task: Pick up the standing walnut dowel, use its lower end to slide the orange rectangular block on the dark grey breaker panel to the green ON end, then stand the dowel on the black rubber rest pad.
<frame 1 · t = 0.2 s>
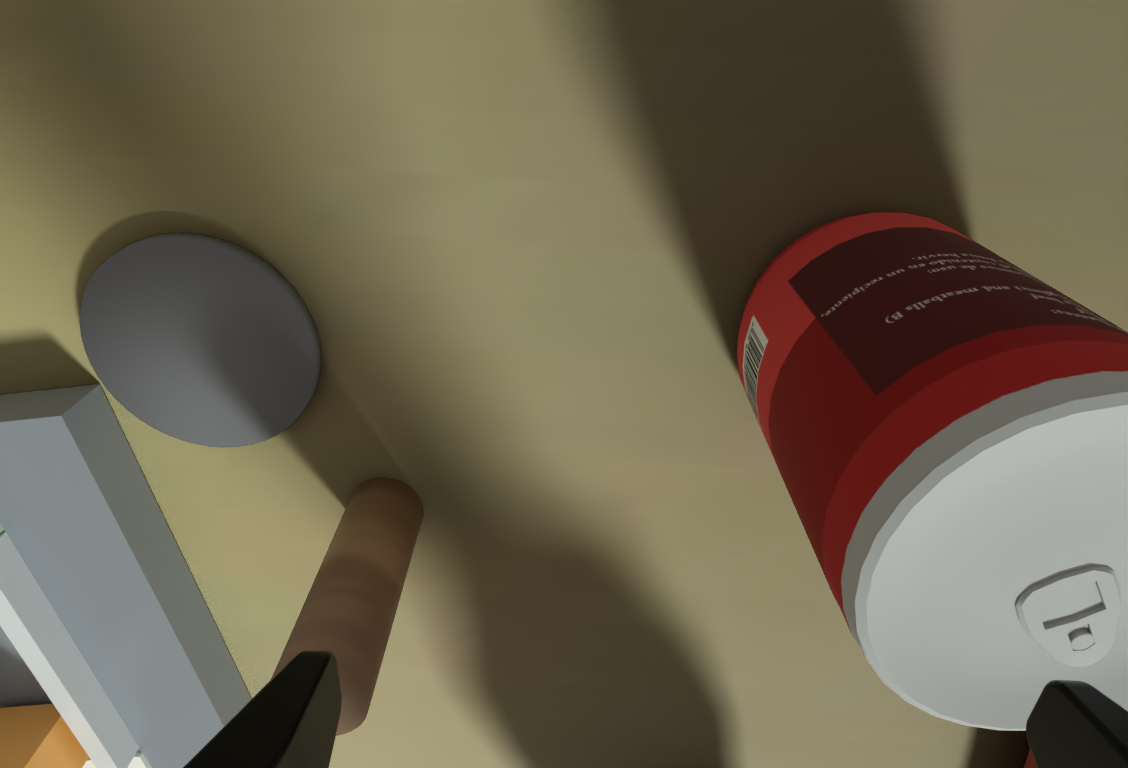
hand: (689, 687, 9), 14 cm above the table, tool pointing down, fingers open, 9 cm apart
dowel: (386, 508, 26), on the table
rest pad: (208, 342, 23), on the table
panel: (43, 614, 28), on the table
canned food: (853, 328, 22), on the table
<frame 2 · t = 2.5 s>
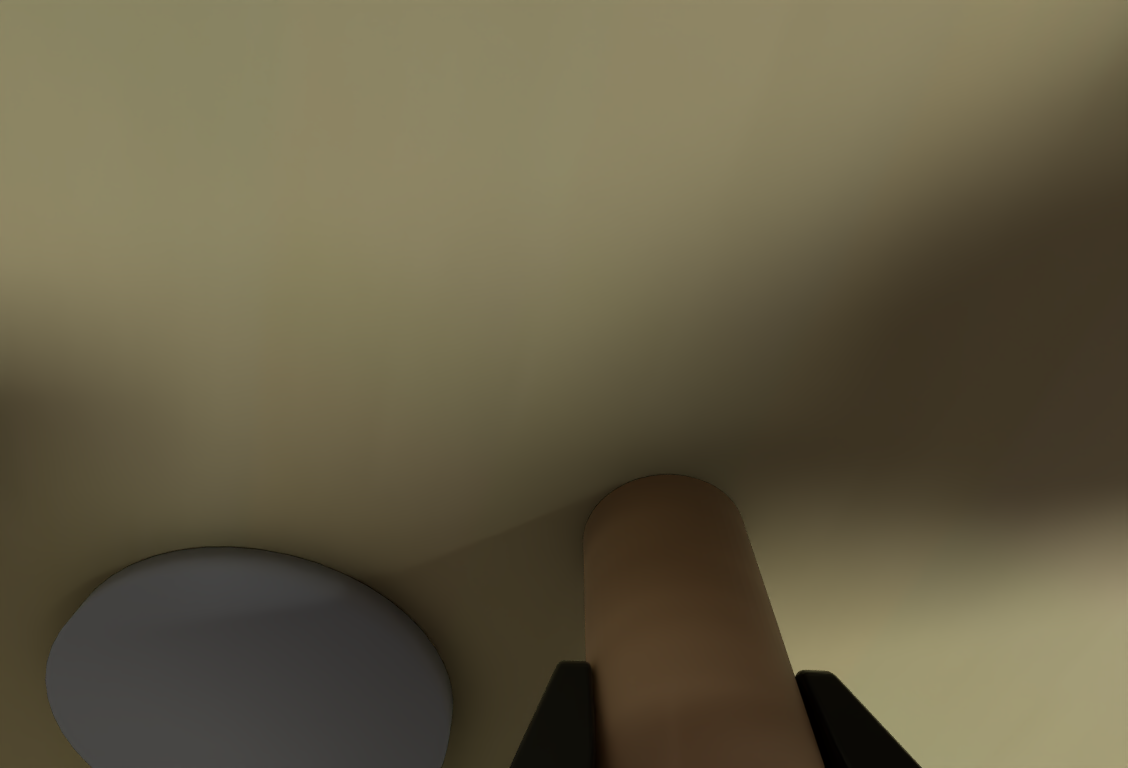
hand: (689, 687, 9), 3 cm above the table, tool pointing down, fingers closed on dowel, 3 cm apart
dowel: (663, 541, 12), on the table, touching gripper
rest pad: (264, 694, 13), on the table
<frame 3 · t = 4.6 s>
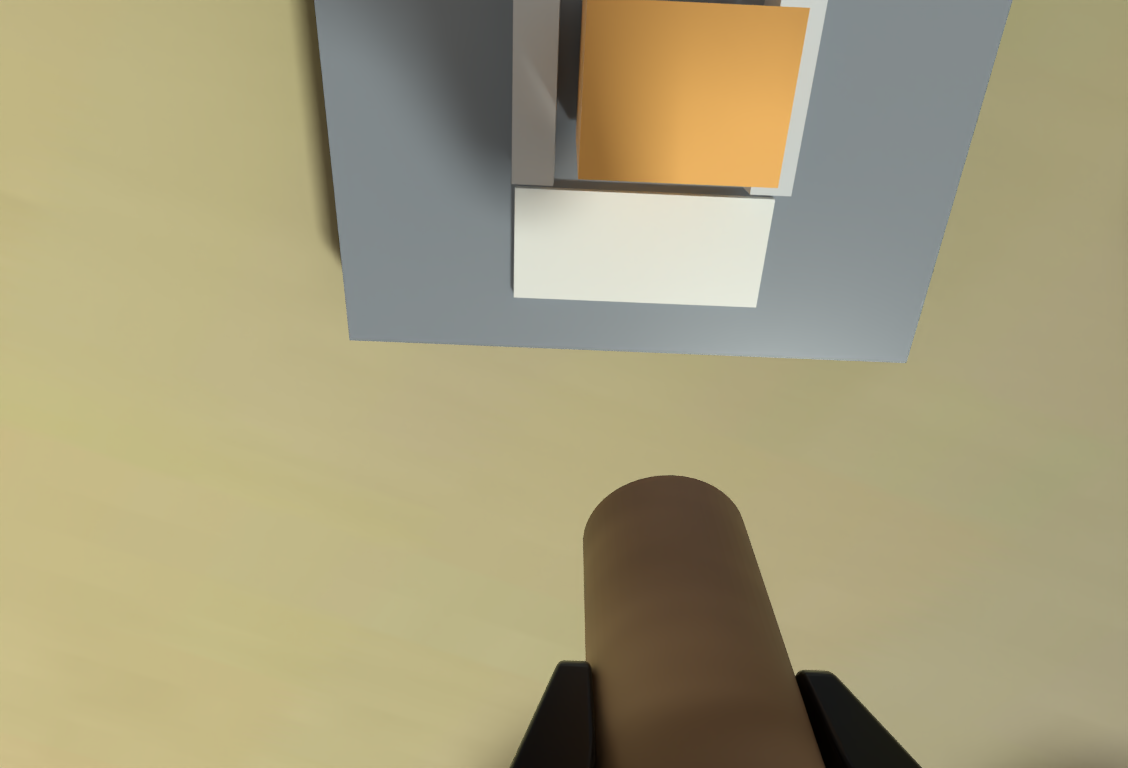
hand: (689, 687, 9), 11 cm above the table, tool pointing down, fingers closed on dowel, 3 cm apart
dowel: (663, 542, 12), point 8 cm above the table, touching gripper
orange rectangular block: (670, 84, 12), point 4 cm above the table, slide at 0.0 cm
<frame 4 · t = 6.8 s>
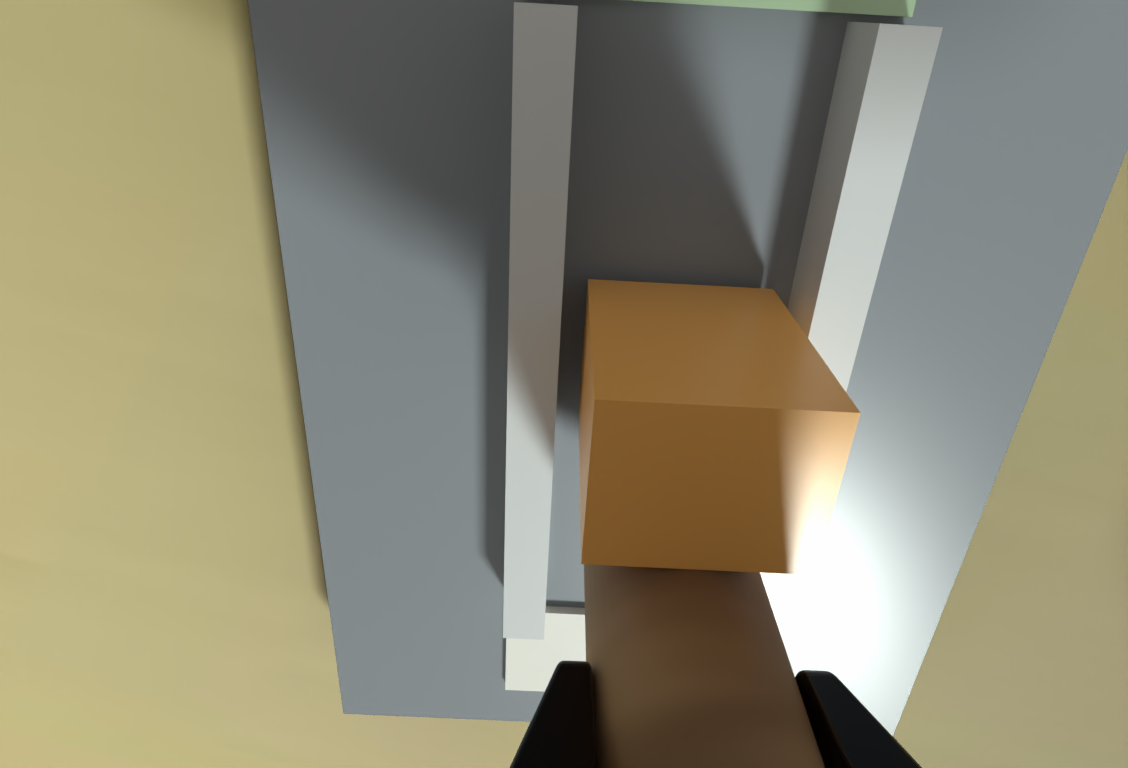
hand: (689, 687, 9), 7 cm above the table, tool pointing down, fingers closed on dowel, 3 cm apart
dowel: (663, 542, 12), point 4 cm above the table, touching gripper, orange rectangular block
orange rectangular block: (688, 410, 10), point 4 cm above the table, slide at 3.9 cm, touching dowel
panel: (655, 321, 14), on the table
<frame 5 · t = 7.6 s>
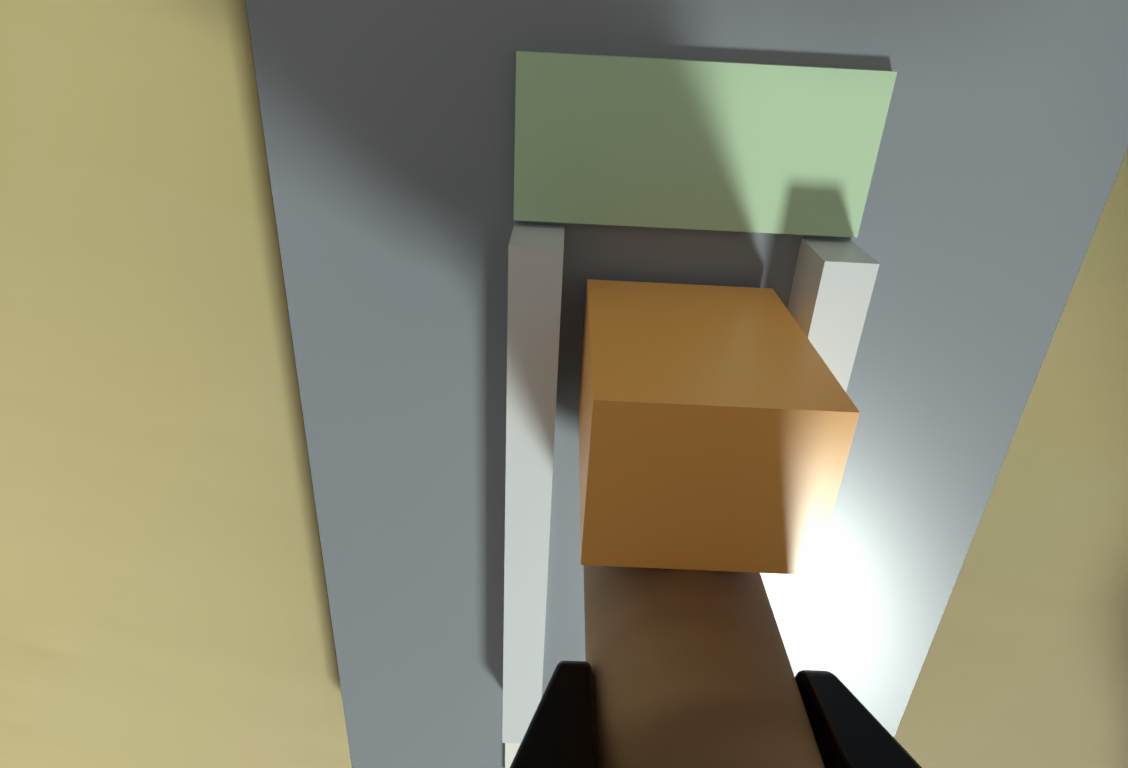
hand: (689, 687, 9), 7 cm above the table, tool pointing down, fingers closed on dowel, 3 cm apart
dowel: (663, 541, 12), point 4 cm above the table, touching gripper, orange rectangular block
orange rectangular block: (688, 410, 10), point 4 cm above the table, slide at 7.0 cm, touching dowel
panel: (639, 452, 16), on the table
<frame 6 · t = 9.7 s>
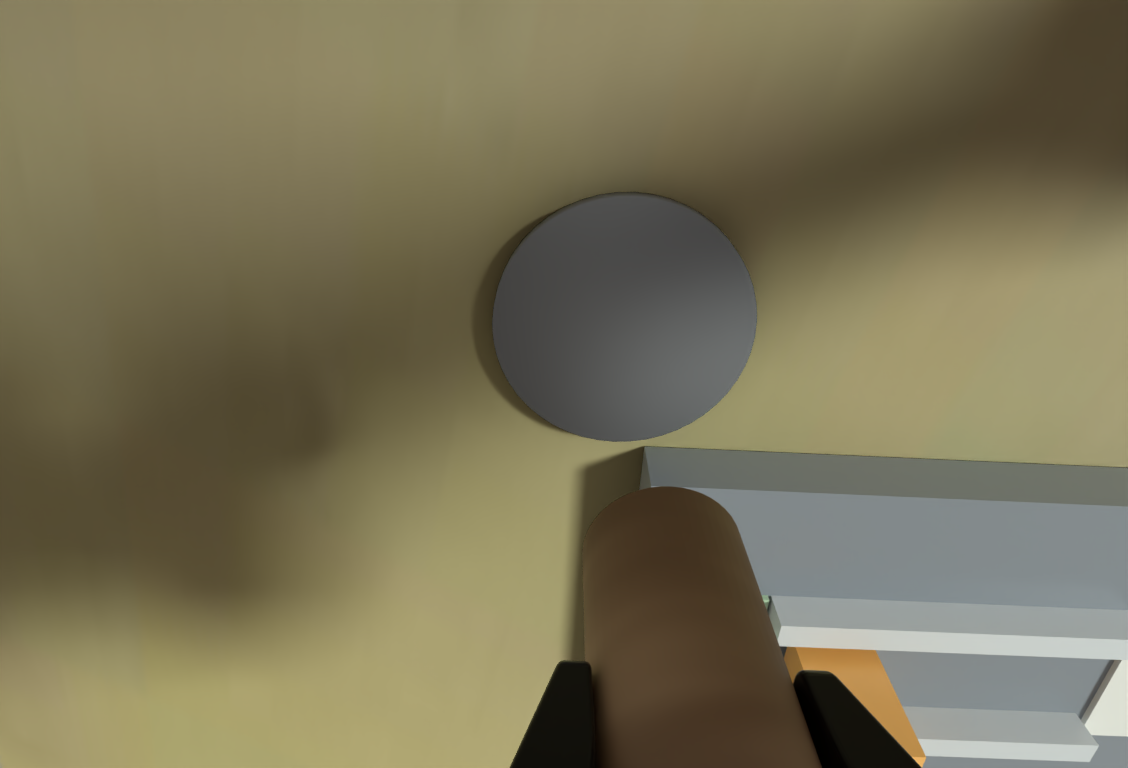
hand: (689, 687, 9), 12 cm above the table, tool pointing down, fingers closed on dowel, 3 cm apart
dowel: (661, 553, 12), point 9 cm above the table, touching gripper
rest pad: (622, 321, 20), on the table
orange rectangular block: (840, 725, 21), point 4 cm above the table, slide at 7.1 cm
panel: (901, 618, 25), on the table
when the fingers open (5 cm above the table, at t = 11.1 s): dowel drops 1 cm, resting on rest pad.
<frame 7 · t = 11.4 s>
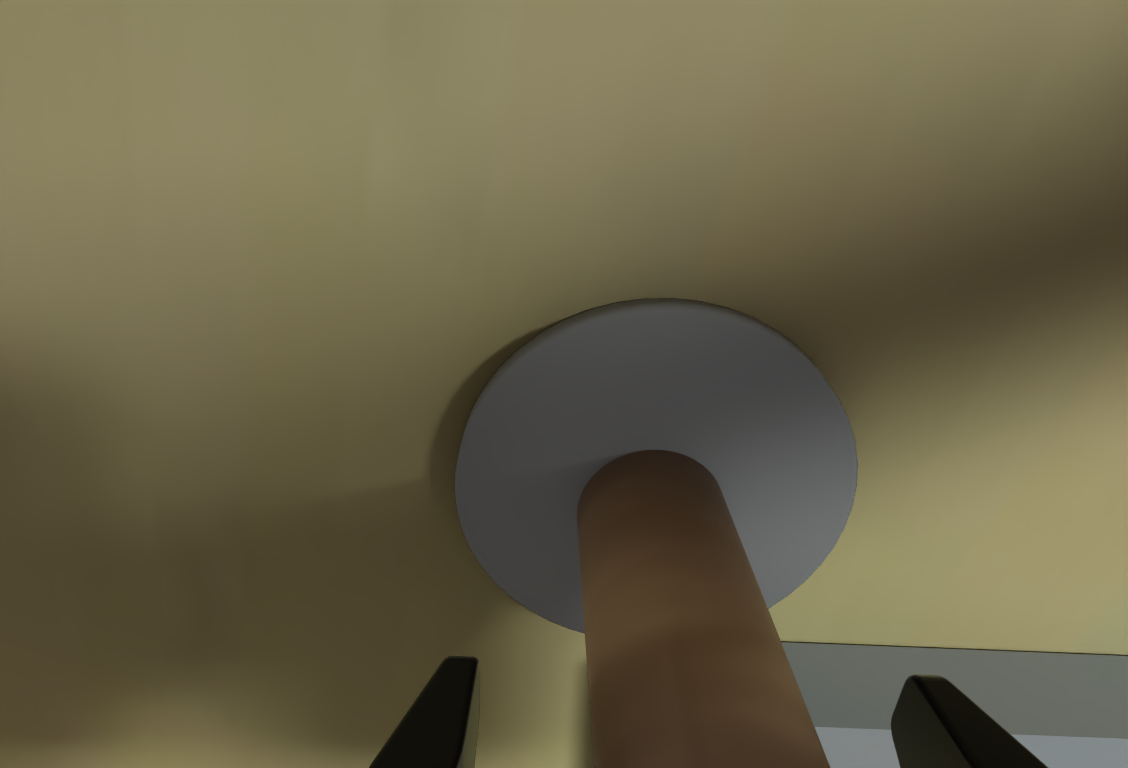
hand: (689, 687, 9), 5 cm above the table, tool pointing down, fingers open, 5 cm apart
dowel: (650, 513, 13), point 1 cm above the table, touching rest pad
rest pad: (650, 478, 13), on the table
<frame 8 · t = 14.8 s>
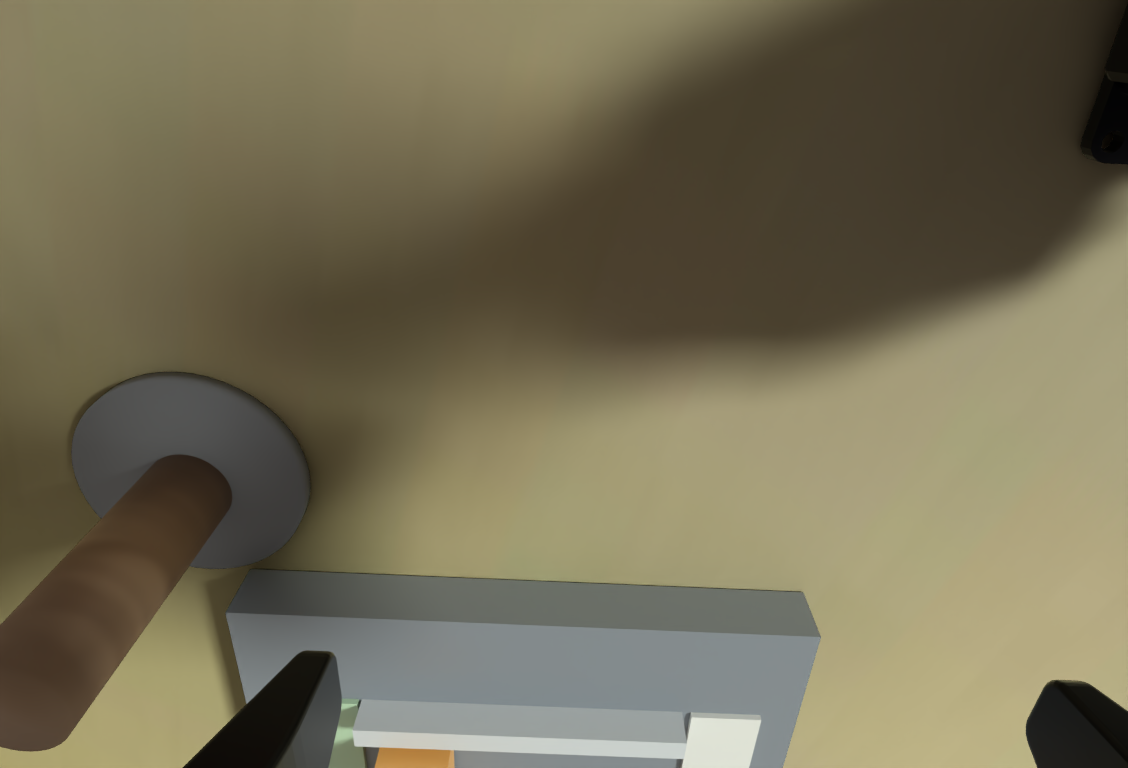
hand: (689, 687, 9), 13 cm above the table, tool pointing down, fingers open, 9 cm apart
dowel: (189, 489, 22), point 1 cm above the table, touching rest pad
rest pad: (198, 470, 23), on the table
panel: (524, 708, 28), on the table
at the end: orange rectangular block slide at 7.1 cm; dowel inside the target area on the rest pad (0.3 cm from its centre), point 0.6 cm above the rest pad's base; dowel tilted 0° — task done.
